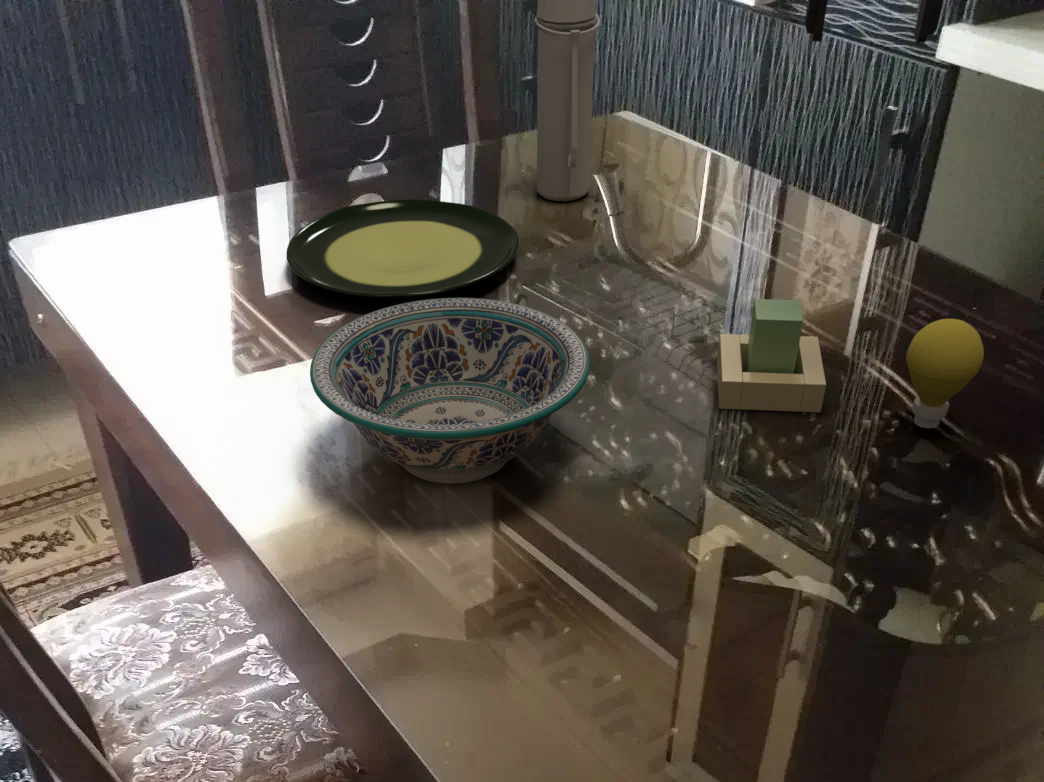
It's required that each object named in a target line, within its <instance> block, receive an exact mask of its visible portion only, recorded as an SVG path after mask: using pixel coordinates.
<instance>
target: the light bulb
mask: <svg viewBox="0 0 1044 782" xmlns="http://www.w3.org/2000/svg"><path fill="white" fill-rule="evenodd" d="M984 355H985V348H984V344H983V341H982V337H981V335H980V334H979V332H978V331H977V330H976V328H974V327H973V326H972V324H969V323H968V322H966V321H964V320H961V319H957V318H942V319H937V320H935V321H932V322H929V323H928V324H927V325H925V326H924V327H923V328H921V329H920V330H919V331H918V332H917V333H916V334H915V335H914V337H913V338H912V340H911V343H910V344H909V346H908V349H907V351H906V356H905V361H906V364H907V369H908V372H909V376H910V381H911V383H912V385H913V386H912V387H913V388H914V390H915V392H916V394H917V396H916V397H914V400H913V403H912V407H911V411H912V413H913V414H914V418H913V423H914V425H916V426H917V427H920V428H923V429H934V428H937V427H938V426H939V425H940V422H941V419H944V418H945V417H946V416H947V415H948V411H949V408H950V402H949V400H951V399H952V398H953V397H954V396H956V395H957V394H958V393H959V392H961V391H962V390H963V389H964V388H965V387H966V386H967V385H968V384H969V383H970V382H971V380H972V379H974V378H975V376H976V375H977V374H978V373H979V371H980V370H981V366H982V364H983V361H984Z"/></svg>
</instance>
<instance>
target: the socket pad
mask: <svg viewBox="0 0 1044 782" xmlns="http://www.w3.org/2000/svg"><path fill="white" fill-rule="evenodd" d="M748 340H749V334H743V333H741V334H737V333H736V334H735V333H720V334H719V338H718V346H717V353H716V360H715V361H716V381H717V402H718V405H717V406H718V410H745V411H772V412H795V413H797V412H800V413H821V412H822V408H823V403H824V397H825V393H826V389H827V380H826V375H825V370H824V364H823V358H822V354H821V346H820V343H819V341H820V340H819V336H809V335H808V336H806V335H805V336H804V335H801V336H800V342H799V347H798V353H797V358H796V364H795V369H794V374H785V373H755V372H744V367H745V360H746V353H747V347H748Z"/></svg>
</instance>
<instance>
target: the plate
mask: <svg viewBox="0 0 1044 782" xmlns="http://www.w3.org/2000/svg"><path fill="white" fill-rule="evenodd" d="M519 245H520V238H519V235H518V233H517V230H516V229H515V228H514V227H513V226H512V225H511V224H510V223H509V222H508V221H507V220H505V219H504V218H503V217H501V216H500V215H497V214H495V213H493V212H491V211H489V210H486V209H483V208H481V207H478V206H474V205H470V204H466V203H458V202H451V201H450V202H449V201H444V200H443V201H442V200H433V199H422V198H406V199H405V198H404V199H390V200H381V201H373V202H367V203H358V204H353V205H348V206H347V205H346V206H344V207H341V208H338V209H335V210H333V211H331V212H329V213H326V214H324V215H323V216H321V217H318V218H316V219H314V220H312V221H311V222H309V223H308V224H306V225H305V226H303V227H302V228H300V229H298V231H297V232H296V233H295V234H294V235H293V236H292V238H291V239H290V240H289V242H288V244H287V248H286V254H285V255H286V262H287V265H288V266H289V267H290V270H292V271H293V272H294V273H295V274H296V275H297V276H298V277H300V278H301V279H302V280H304V281H306V282H307V283H309V284H312V285H314V286H316V287H319V288H321V289H324V290H327V291H330V292H334V293H340V294H345V295H349V296H354V297H360V298H369V299H410V298H422V297H430V296H433V295H434V296H436V295H440V294H444V293H448V292H449V293H450V292H452V291H456V290H459V289H463V288H465V287H468V286H471V285H475V284H476V283H479V282H482V281H484V280H485V279H488V278H490V277H492V276H493V275H494V274H497V273H498V272H500V271H502V270H503V269H505V267H507V266H508V265H509V264H510V263H511V262H512V261H513V260H514V258H515V257H516V255H517V253H518V250H519Z"/></svg>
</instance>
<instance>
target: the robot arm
mask: <svg viewBox="0 0 1044 782" xmlns="http://www.w3.org/2000/svg"><path fill="white" fill-rule="evenodd" d="M943 2H944V0H920V4H919V10H918V14H917V18H916V22H915V28H914V33H913V39H914V40H915V42H916V44H917V43H919V44H920V43H923V44H924V43H926V42H927V40H928V35H934V34H935V32H936V30H937V28H938V25H939V21H940V16H941V11H942V9H943V8H942V7H943ZM806 5H807V6H806V11H805V16H804V17H805V18H804V25H805V30H806V34H808V35H809V34H810V40H811V42H813V43H814V42H815V43H816V42H817V43H820V42H822V38H823V31H824V26H825V19H826V13H827V8H828V0H807V4H806Z"/></svg>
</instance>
